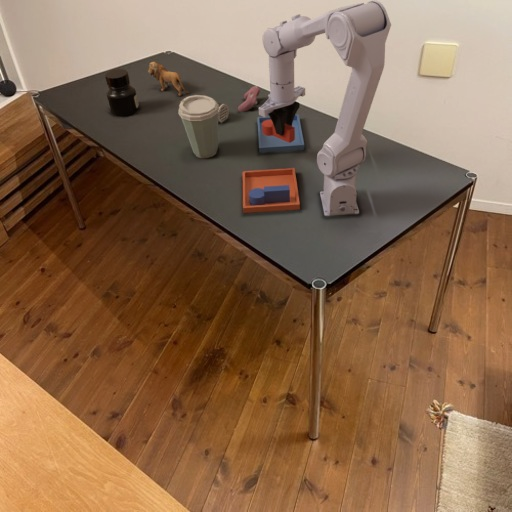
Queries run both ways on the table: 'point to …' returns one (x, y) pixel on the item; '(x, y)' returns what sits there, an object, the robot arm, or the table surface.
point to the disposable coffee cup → (201, 124)
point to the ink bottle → (121, 93)
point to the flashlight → (222, 111)
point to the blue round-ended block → (269, 195)
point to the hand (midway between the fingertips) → (283, 132)
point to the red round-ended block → (270, 131)
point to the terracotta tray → (270, 179)
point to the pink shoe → (250, 99)
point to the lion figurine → (165, 77)
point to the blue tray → (278, 144)
